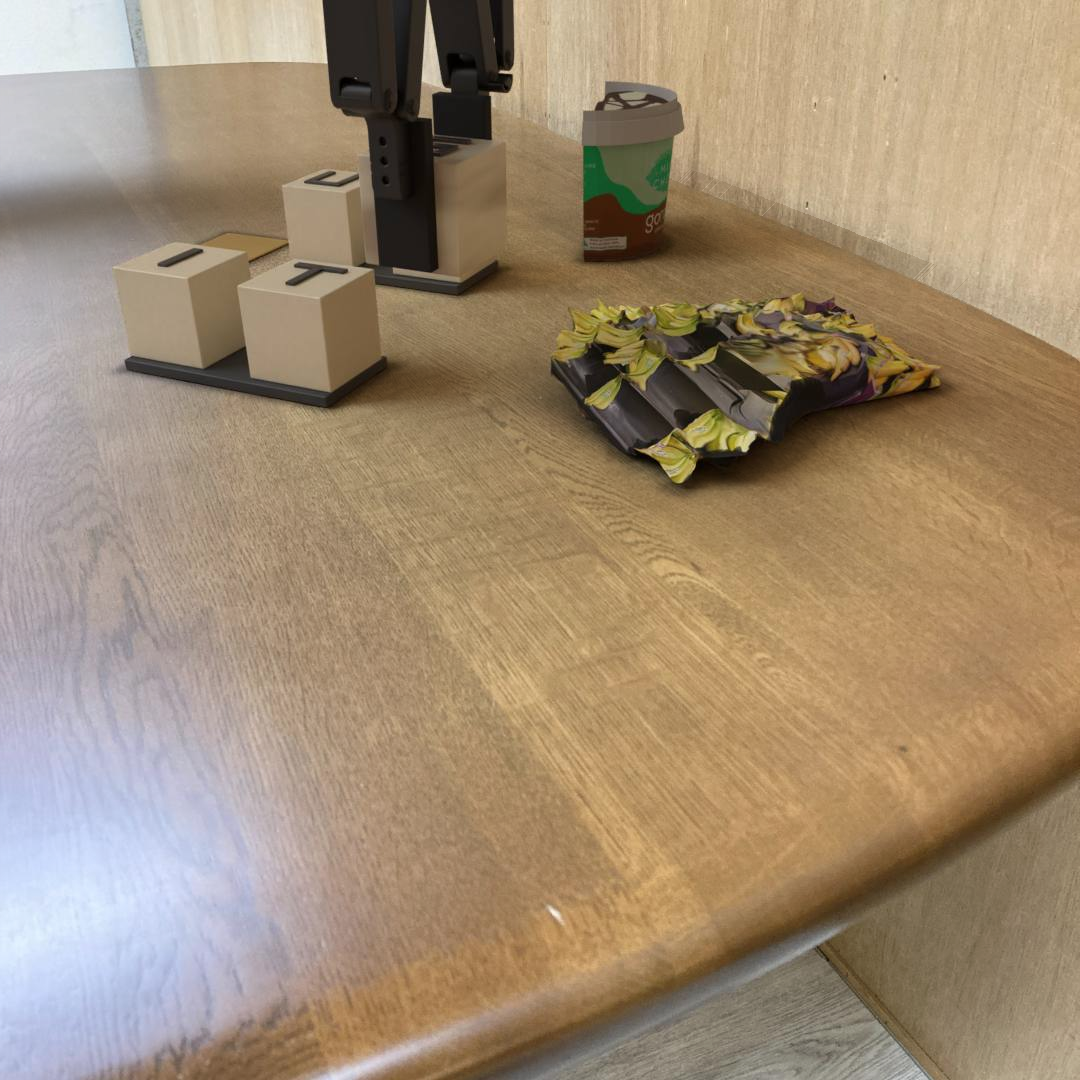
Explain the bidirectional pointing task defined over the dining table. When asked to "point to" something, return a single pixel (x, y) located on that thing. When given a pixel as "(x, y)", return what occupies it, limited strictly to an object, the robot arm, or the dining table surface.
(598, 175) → the food container
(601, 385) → the banana patterned fabric
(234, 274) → the front word
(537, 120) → the dining table surface
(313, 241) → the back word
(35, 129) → the dining table surface
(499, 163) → the tile
